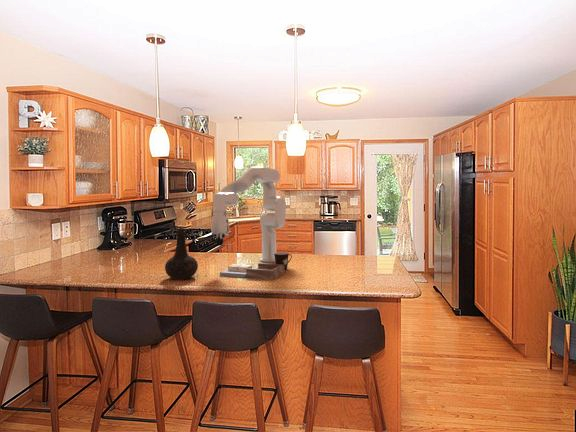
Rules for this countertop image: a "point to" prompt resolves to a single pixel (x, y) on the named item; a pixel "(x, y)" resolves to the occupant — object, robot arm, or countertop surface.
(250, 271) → the box
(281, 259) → the coffee mug
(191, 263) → the dark bulbous vase
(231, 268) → the cream tile
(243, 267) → the cream tile
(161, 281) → the countertop surface
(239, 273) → the slate plate
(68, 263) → the countertop surface
